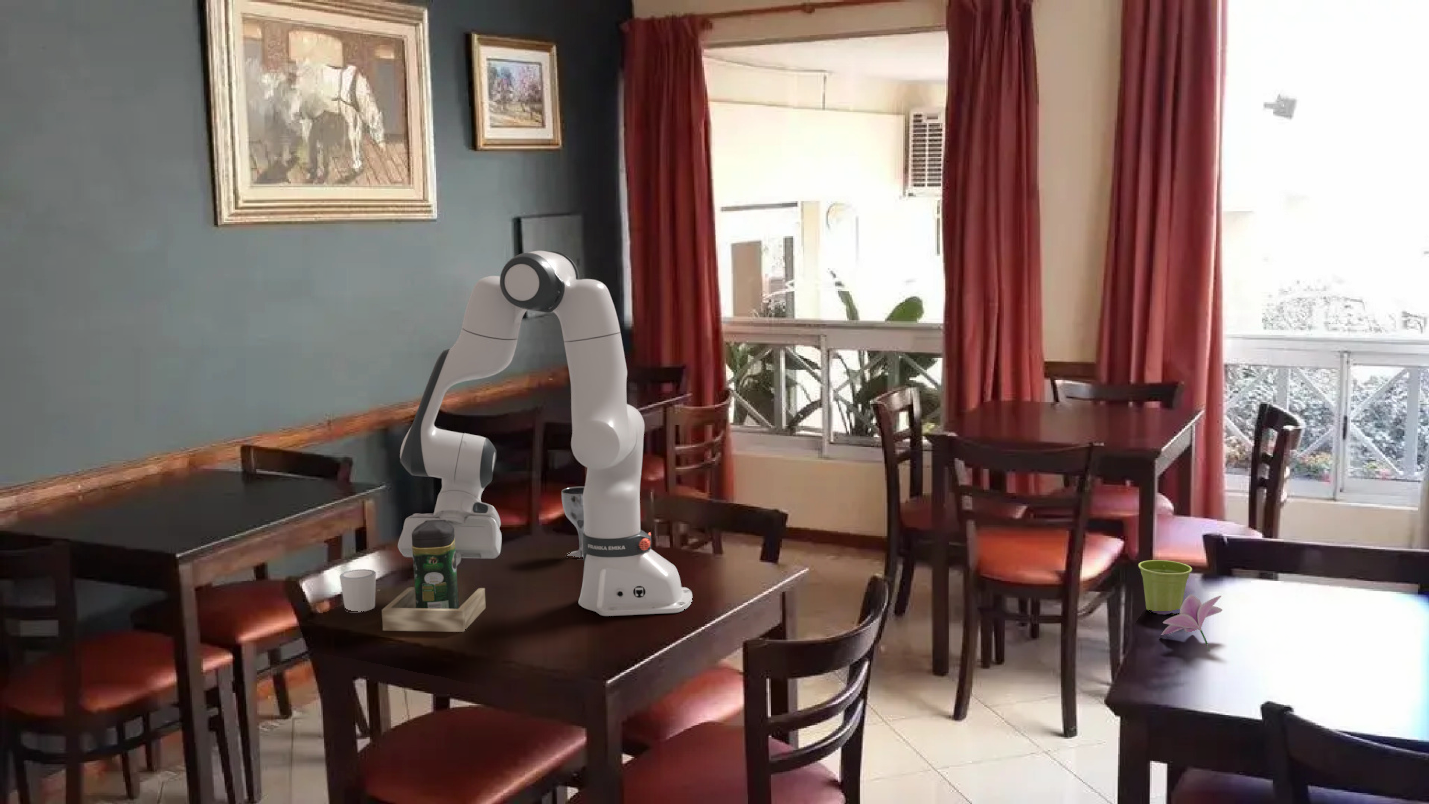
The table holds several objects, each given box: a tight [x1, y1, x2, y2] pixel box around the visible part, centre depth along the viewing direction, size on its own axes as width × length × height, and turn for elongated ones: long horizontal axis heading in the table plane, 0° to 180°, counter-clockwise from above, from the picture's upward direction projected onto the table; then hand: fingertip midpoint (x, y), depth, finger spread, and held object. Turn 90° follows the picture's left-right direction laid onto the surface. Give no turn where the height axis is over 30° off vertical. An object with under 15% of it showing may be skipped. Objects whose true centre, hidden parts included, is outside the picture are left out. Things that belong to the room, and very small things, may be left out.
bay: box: [381, 586, 487, 633], centre depth 234 cm, size 15×14×4 cm
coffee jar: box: [412, 520, 460, 609], centre depth 234 cm, size 10×8×19 cm
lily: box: [1160, 594, 1223, 645], centre depth 211 cm, size 12×12×10 cm
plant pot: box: [1138, 559, 1193, 611], centre depth 229 cm, size 9×9×9 cm
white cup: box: [339, 568, 377, 613], centre depth 241 cm, size 7×7×7 cm
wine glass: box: [561, 485, 585, 558], centre depth 276 cm, size 8×8×15 cm
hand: (443, 575), depth 239 cm, fingers closed, pressing on coffee jar
